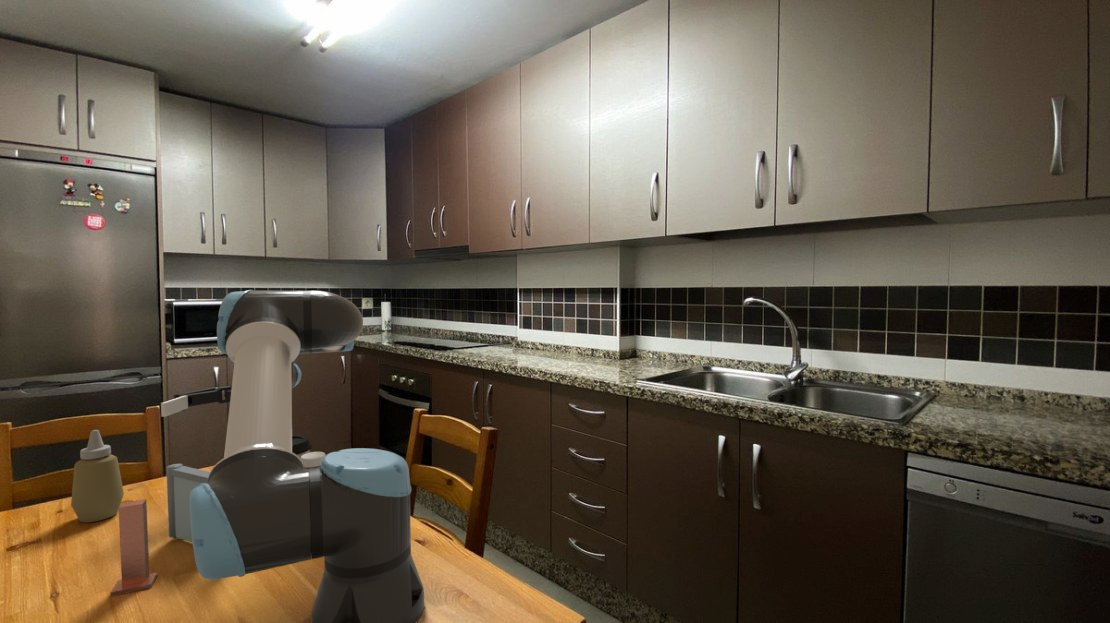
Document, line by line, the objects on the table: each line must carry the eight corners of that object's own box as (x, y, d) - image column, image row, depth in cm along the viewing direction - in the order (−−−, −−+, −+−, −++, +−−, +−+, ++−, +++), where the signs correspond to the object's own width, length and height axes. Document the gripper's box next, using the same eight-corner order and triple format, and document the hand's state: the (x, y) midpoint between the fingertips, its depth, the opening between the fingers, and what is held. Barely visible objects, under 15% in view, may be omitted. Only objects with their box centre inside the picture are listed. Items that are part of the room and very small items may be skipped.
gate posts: (248, 549, 91) (245, 462, 90) (244, 568, 85) (241, 474, 84) (124, 574, 83) (120, 478, 83) (110, 596, 78) (105, 493, 77)
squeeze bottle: (114, 521, 102) (110, 433, 101) (63, 529, 99) (58, 438, 98) (131, 505, 110) (127, 423, 109) (83, 512, 107) (79, 427, 106)
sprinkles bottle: (303, 527, 100) (301, 459, 99) (301, 518, 104) (299, 453, 103) (328, 521, 102) (327, 455, 101) (325, 512, 106) (324, 449, 105)
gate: (234, 550, 90) (232, 475, 90) (221, 556, 88) (218, 479, 87) (179, 533, 97) (177, 462, 96) (166, 538, 94) (163, 467, 94)
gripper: (310, 402, 123) (262, 428, 101) (205, 402, 122) (134, 428, 101) (309, 371, 122) (261, 391, 101) (204, 371, 121) (132, 391, 100)
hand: (197, 410), depth 101 cm, fingers open, 13 cm apart
